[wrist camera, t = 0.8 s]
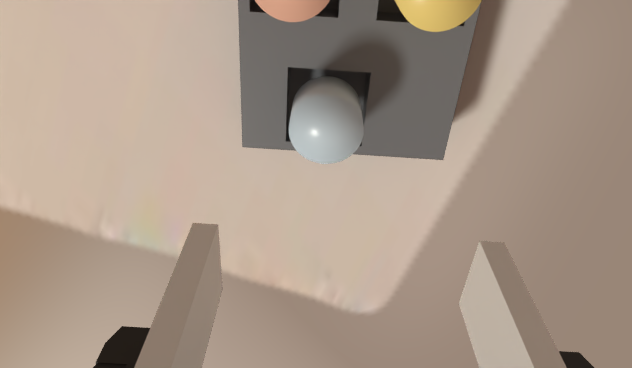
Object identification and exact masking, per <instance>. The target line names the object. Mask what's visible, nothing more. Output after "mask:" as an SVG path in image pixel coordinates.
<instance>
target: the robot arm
mask: <svg viewBox="0 0 632 368" xmlns="http://www.w3.org/2000/svg"><path fill="white" fill-rule="evenodd" d="M221 293H222V275H221V260H220V245H219V230H218V225H217V224H201V223H193V224H192V227H191V229H190V232H189V234H188V237H187V239H186V242H185V244H184V246H183V249H182V251H181V254H180V256H179V259H178V261H177V264H176V266H175V269H174V271H173V274H172V276H171V279H170V281H169V283H168V286H167V288H166V291H165V293H164V296H163V298H162V301H161V303H160V306H159V309H158V311H157V313H156V315H155V318H154V320H153V323H152V325H151V328H140V327H123V326H122V327H121V328H120V329H119V330H118V331H117V332H116V333H115V334H114V335H113V336H112V337H111V338H110V339H109V340H108V341H107V342H106V343H105V345H104V347H103V349H102V351H101V353H100V355H99V357H98V359H97V361H96V365H95V366H94V367H93V368H202V364H203V361H204V357H205V353H206V349H207V346H208V342H209V338H210V334H211V331H212V327H213V323H214V319H215V315H216V311H217V308H218V304H219V300H220V297H221ZM459 305H460V308H461V311H462V314H463V317H464V321H465V324H466V327H467V330H468V333H469V336H470V339H471V343H472V346H473V349H474V352H475V355H476V359H477V362H478V365H479V368H594V367H593V366H592V365H591V364H590V363H589V362H588V361H587V360H586V359H585V358H584V357H583V356H582V355H581V354H580V353H578V352H561V351H558V349H557V347H556V345H555V343H554V341H553V339H552V337H551V335H550V333H549V331H548V329H547V327H546V325H545V323H544V321H543V319H542V317H541V315H540V313H539V311H538V309H537V307H536V305H535V303H534V301H533V299H532V297H531V295H530V293H529V291H528V289H527V287H526V285H525V283H524V281H523V279H522V277H521V275H520V273H519V271H518V269H517V267H516V265H515V263H514V261H513V259H512V257H511V255H510V253H509V251H508V249H507V247H506V245H505V243H502V242H487V241H479V244H478V248H477V251H476V254H475V257H474V260H473V263H472V266H471V269H470V272H469V275H468V278H467V281H466V284H465V287H464V290H463V293H462V296H461V299H460V302H459Z"/></svg>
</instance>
